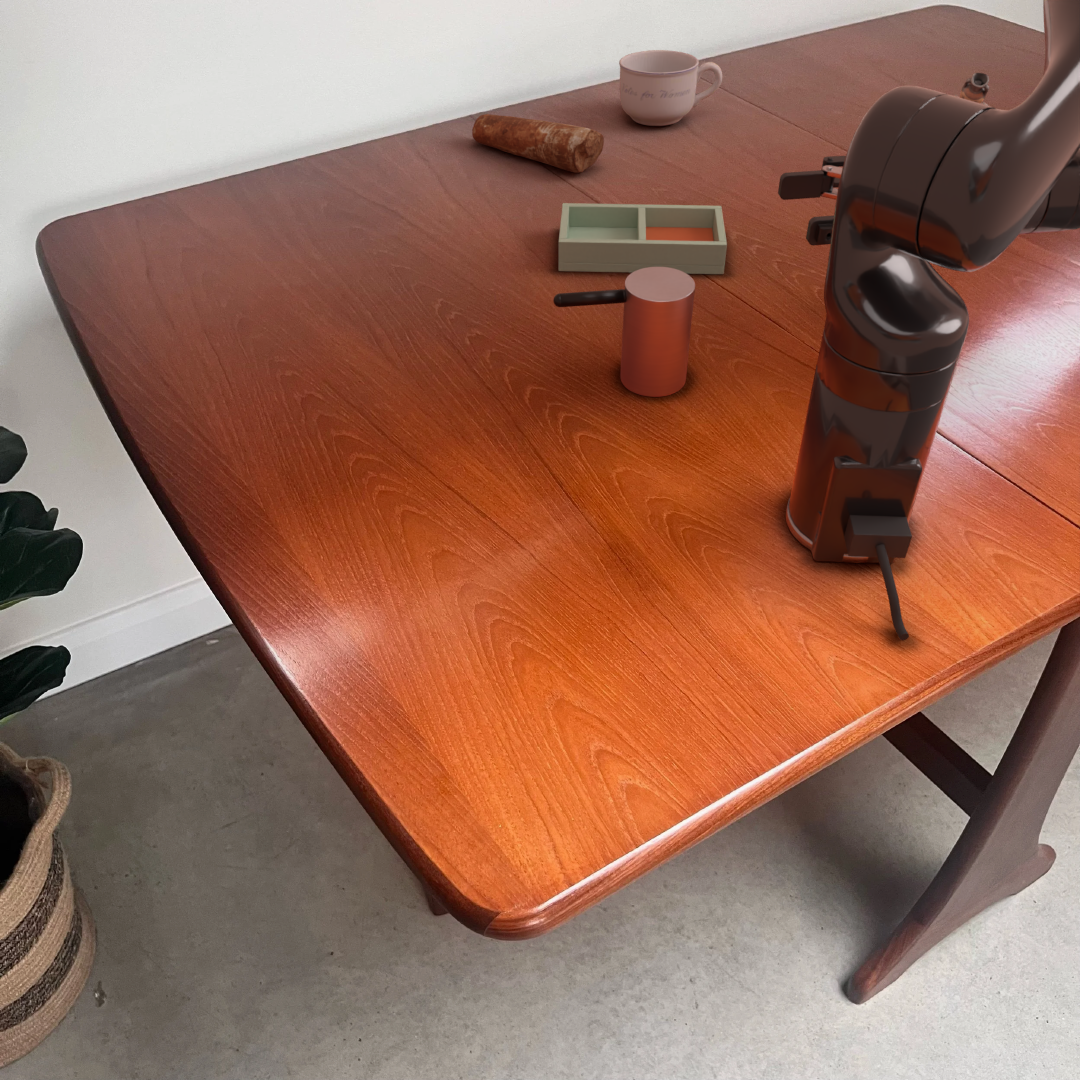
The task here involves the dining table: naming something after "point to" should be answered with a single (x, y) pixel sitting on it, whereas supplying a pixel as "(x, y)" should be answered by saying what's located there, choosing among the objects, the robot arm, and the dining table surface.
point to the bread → (541, 140)
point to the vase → (975, 88)
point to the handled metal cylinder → (649, 327)
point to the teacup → (662, 85)
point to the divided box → (641, 238)
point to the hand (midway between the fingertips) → (793, 208)
